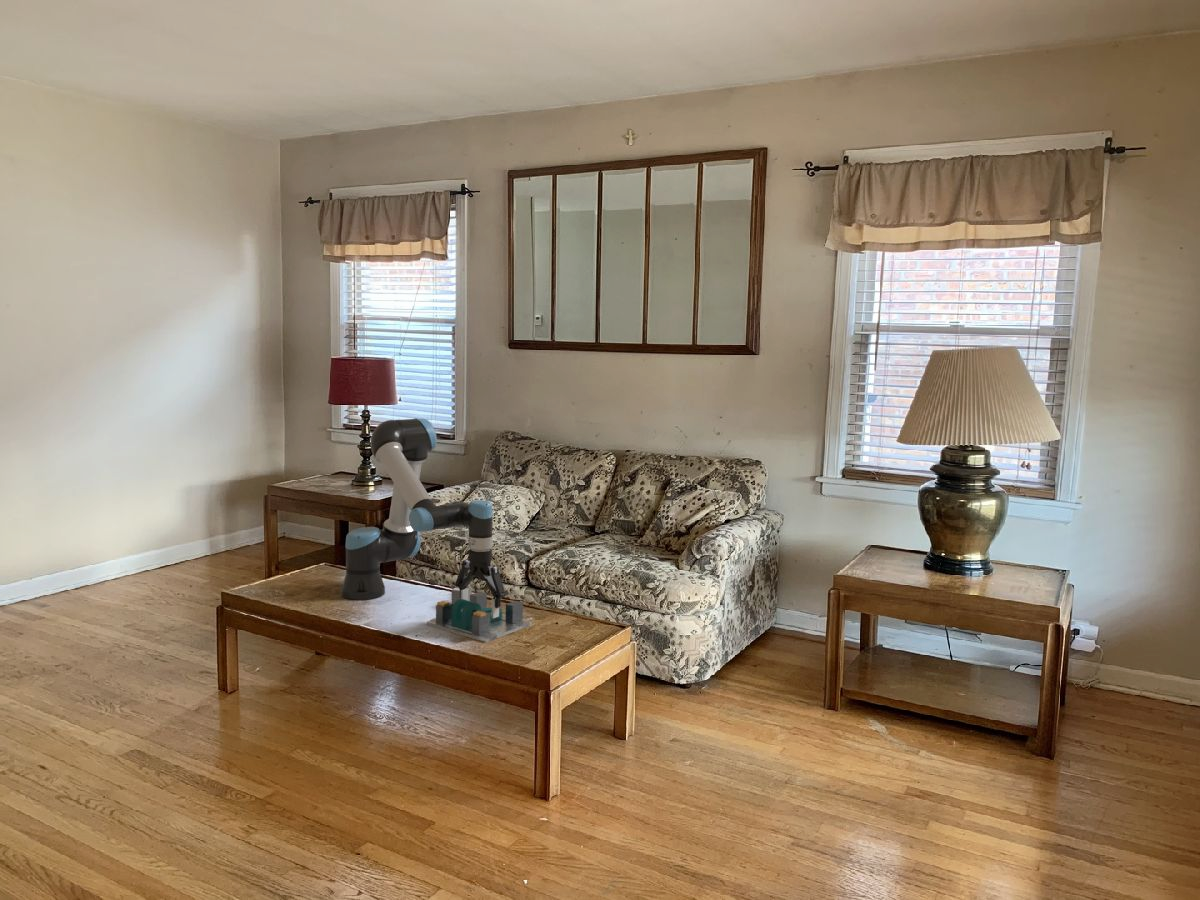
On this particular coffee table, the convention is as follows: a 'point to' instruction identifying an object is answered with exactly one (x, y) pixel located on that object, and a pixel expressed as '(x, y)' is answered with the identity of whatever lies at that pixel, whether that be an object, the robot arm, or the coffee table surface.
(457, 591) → the block
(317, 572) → the coffee table surface
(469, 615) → the bracket
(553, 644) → the coffee table surface
